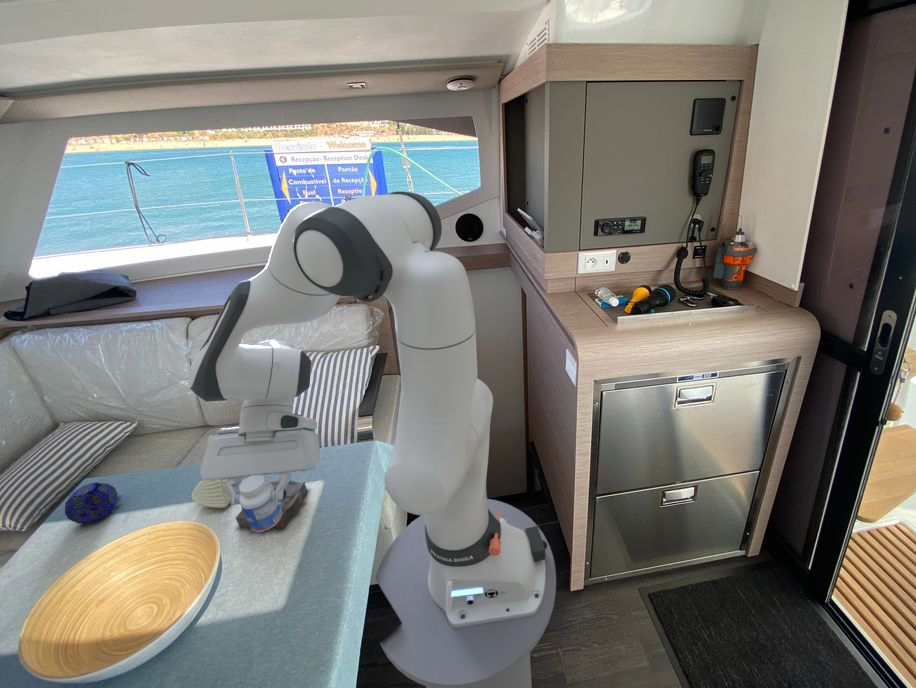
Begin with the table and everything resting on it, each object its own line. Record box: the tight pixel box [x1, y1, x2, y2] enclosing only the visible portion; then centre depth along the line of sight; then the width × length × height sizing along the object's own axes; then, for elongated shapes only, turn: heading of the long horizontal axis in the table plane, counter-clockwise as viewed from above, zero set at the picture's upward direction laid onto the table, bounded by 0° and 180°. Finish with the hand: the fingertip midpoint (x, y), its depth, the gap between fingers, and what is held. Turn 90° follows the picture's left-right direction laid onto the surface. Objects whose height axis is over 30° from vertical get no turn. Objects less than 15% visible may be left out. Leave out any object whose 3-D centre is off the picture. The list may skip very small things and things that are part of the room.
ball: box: [64, 482, 119, 524], centre depth 94 cm, size 8×8×8 cm
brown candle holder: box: [235, 479, 308, 532], centre depth 93 cm, size 11×11×3 cm
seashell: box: [191, 479, 232, 509], centre depth 97 cm, size 8×8×8 cm
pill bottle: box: [238, 475, 282, 533], centre depth 76 cm, size 6×5×10 cm
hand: (257, 502), depth 75 cm, fingers closed on pill bottle, 5 cm apart
